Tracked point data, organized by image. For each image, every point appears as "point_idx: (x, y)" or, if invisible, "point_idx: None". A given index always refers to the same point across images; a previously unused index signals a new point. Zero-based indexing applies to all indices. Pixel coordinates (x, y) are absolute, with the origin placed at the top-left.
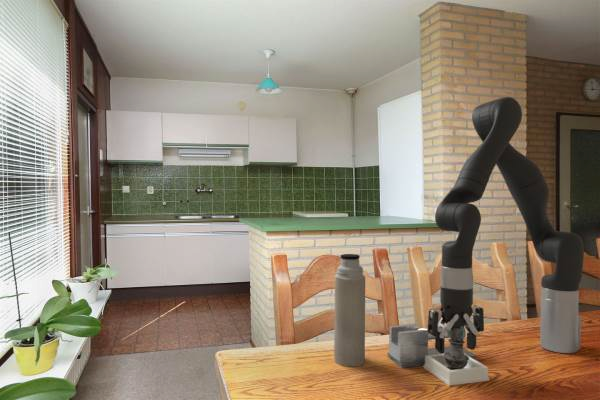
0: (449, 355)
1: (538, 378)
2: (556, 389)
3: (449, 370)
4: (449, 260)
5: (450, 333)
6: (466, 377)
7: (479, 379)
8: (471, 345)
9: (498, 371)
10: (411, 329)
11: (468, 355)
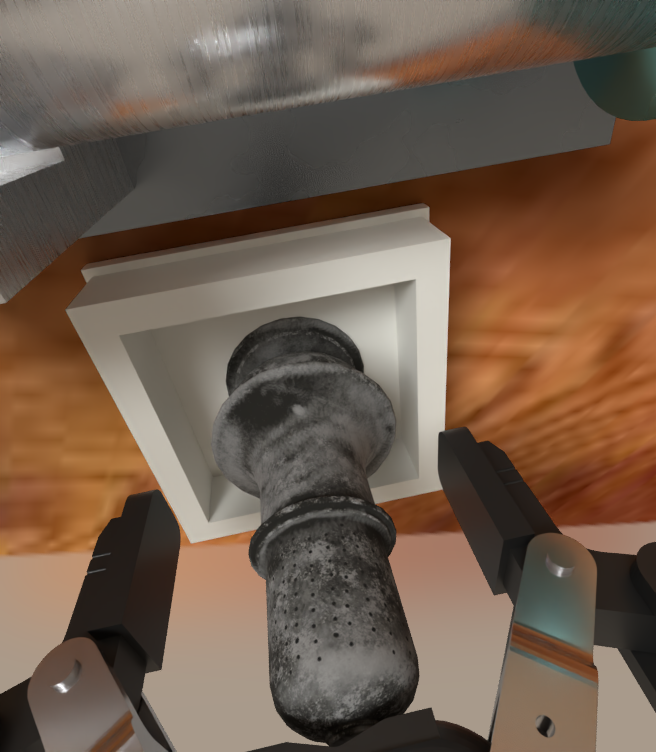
0: (244, 469)
1: (650, 424)
2: (611, 499)
3: (199, 527)
4: None
5: (513, 68)
6: None
7: None
8: (451, 498)
9: (550, 351)
10: None
11: (546, 134)
